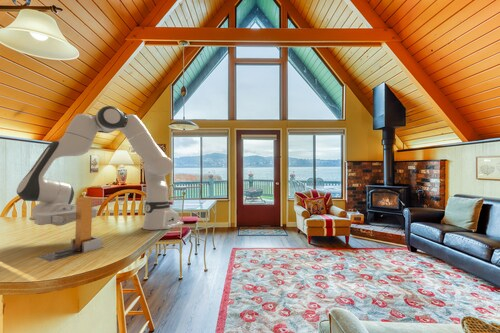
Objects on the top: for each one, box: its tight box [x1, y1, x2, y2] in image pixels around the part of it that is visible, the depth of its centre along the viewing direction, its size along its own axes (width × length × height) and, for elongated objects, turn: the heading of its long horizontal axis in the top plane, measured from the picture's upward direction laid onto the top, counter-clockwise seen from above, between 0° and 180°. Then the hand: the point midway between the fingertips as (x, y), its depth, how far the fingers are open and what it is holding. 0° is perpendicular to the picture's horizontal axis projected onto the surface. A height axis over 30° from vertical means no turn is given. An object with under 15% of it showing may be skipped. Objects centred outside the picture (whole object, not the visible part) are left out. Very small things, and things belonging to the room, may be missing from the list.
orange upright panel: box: [54, 196, 93, 255], centre depth 87 cm, size 11×5×19 cm, turn 151°
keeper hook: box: [70, 235, 103, 253], centre depth 91 cm, size 6×9×4 cm
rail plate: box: [37, 246, 104, 262], centre depth 86 cm, size 17×9×1 cm, turn 151°
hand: (77, 217), depth 92 cm, fingers open, 8 cm apart
